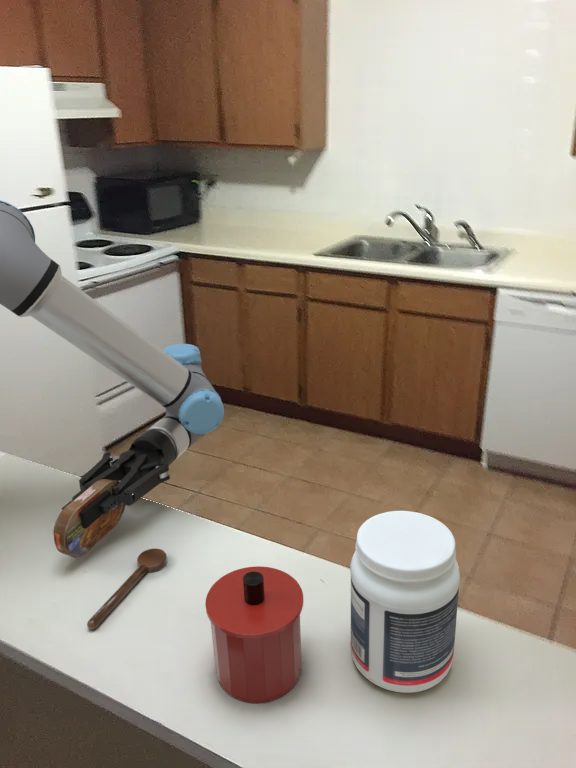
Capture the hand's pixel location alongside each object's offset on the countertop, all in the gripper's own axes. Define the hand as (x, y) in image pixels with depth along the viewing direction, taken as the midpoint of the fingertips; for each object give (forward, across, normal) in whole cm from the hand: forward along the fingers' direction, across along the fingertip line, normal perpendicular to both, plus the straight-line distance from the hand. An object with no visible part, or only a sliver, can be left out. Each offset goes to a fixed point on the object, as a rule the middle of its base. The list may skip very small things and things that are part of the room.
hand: (74, 518), depth 101 cm
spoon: (+2, -11, -8) cm, 14 cm away
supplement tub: (+1, -51, -8) cm, 52 cm away
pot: (+9, -35, -8) cm, 37 cm away
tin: (-3, 0, -6) cm, 7 cm away
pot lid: (+10, -35, +3) cm, 36 cm away
